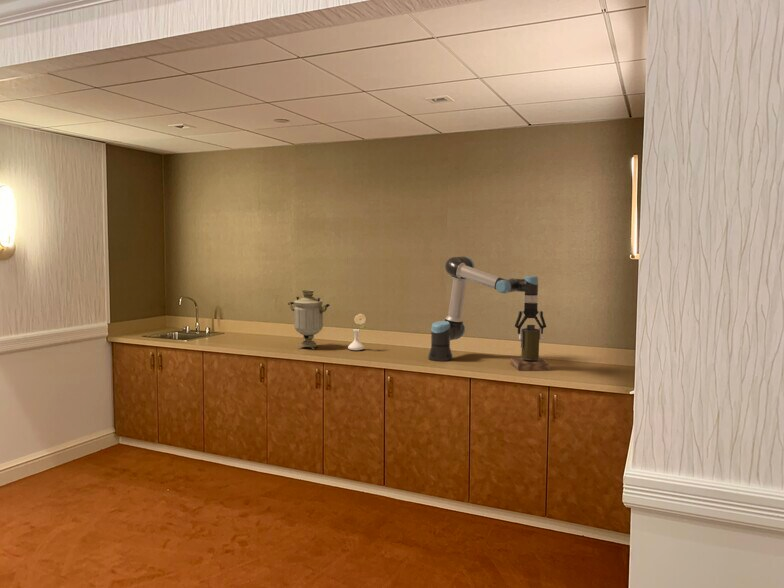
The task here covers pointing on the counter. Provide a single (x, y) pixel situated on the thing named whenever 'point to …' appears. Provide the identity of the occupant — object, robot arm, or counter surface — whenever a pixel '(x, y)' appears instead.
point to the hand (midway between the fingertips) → (530, 339)
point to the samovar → (308, 317)
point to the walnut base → (529, 364)
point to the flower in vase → (356, 344)
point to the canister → (530, 343)
